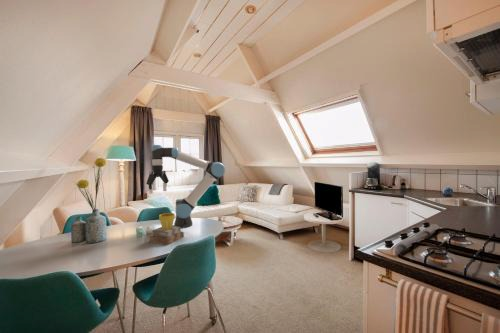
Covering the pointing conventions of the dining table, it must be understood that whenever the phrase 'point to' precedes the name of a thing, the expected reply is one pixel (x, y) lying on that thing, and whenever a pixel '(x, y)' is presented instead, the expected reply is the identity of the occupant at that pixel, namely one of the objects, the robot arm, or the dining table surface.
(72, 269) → the dining table surface
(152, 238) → the tower plinth
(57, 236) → the dining table surface
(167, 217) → the plant pot
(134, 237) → the dining table surface
